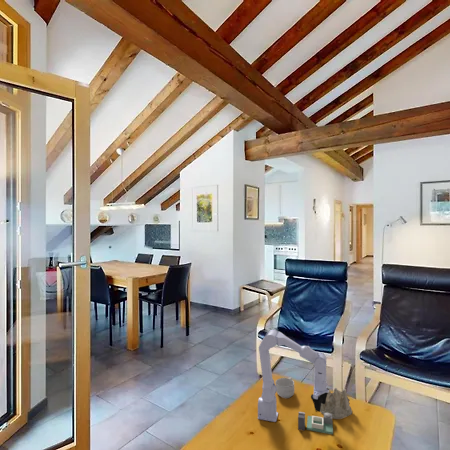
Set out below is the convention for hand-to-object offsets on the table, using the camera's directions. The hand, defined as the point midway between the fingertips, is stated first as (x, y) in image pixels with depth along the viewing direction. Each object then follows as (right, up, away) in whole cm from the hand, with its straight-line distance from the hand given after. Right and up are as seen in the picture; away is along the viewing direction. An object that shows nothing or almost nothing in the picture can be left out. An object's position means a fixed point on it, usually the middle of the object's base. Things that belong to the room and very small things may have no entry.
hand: (320, 407), depth 153 cm
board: (0, -10, +1) cm, 10 cm away
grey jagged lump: (+12, -10, +14) cm, 21 cm away
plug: (-9, -10, 0) cm, 14 cm away
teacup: (-11, -10, +30) cm, 33 cm away
